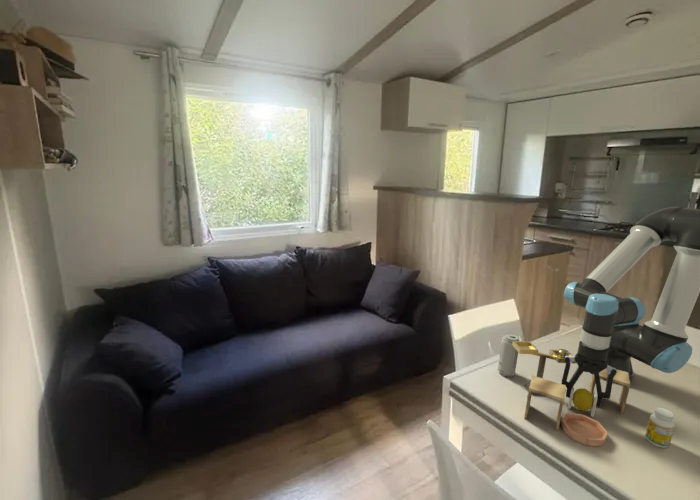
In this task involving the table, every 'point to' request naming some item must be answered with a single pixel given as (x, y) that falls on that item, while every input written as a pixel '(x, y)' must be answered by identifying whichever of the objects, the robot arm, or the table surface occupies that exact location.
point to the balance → (529, 348)
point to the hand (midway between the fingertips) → (580, 410)
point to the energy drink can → (508, 356)
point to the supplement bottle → (660, 428)
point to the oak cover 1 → (546, 393)
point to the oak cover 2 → (619, 378)
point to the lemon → (582, 399)
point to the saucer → (584, 430)
